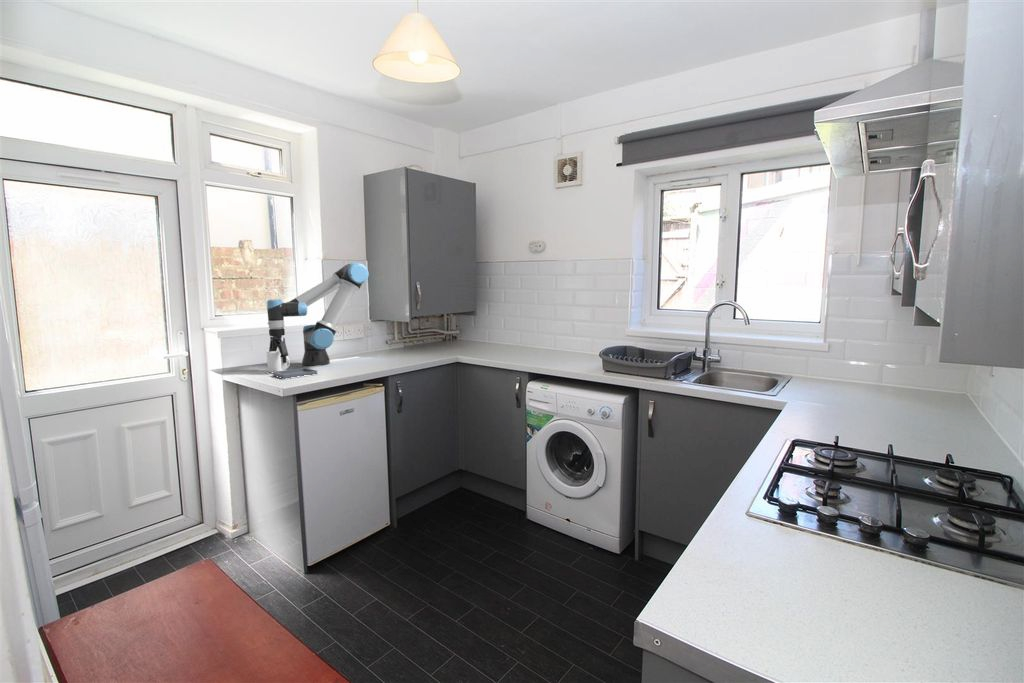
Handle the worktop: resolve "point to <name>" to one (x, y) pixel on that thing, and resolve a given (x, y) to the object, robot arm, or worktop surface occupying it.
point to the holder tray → (294, 372)
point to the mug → (274, 361)
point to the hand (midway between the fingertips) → (279, 367)
